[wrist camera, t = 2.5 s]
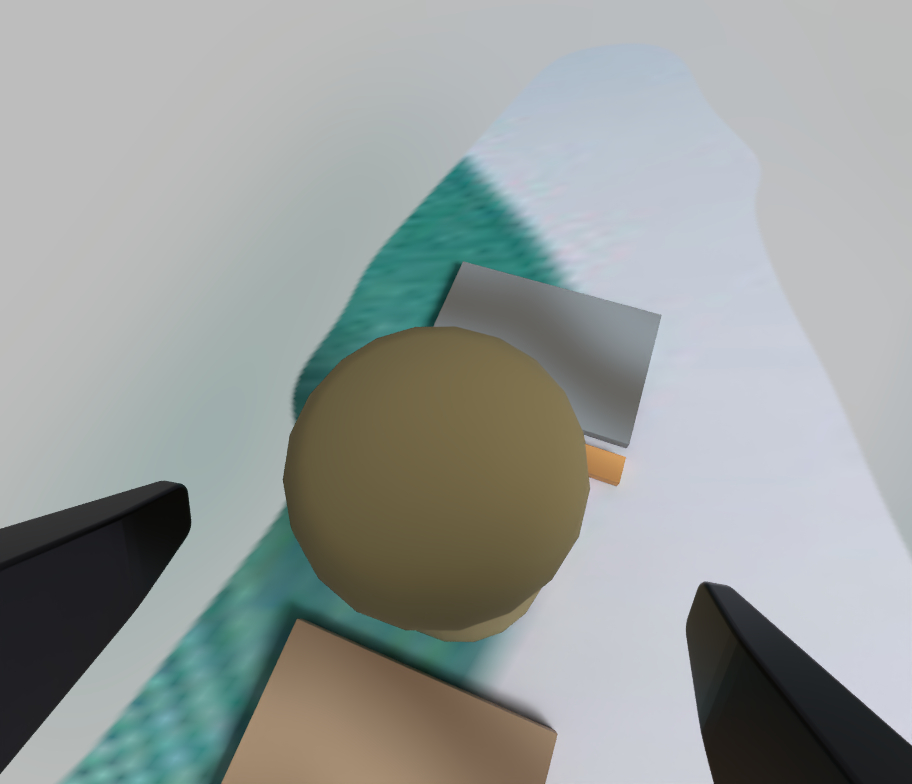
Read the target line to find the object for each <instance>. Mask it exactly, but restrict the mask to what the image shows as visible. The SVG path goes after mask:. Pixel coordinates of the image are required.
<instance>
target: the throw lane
mask: <svg viewBox="0 0 912 784" xmlns="http://www.w3.org/2000/svg"><path fill="white" fill-rule="evenodd" d="M660 319H661V315H659V314H656V313H652V312H648V311H645V310H641V309H637V308H633V307H630V306H626V305H622V304H619V303H615V302H611V301H607V300H604V299H600V298H596V297H593V296H589V295H585V294H582V293H578V292H574V291H570V290H567V289H563V288H559V287H556V286H552V285H548V284H544V283H541V282H537V281H533V280H530V279H526V278H522V277H519V276H515V275H511V274H507V273H504V272H500V271H496V270H493V269H489V268H485V267H481V266H478V265H474V264H470V263H467V262H463V263H462V265H461V267H460V269H459V272H458V274H457V276H456V278H455V280H454V283H453V285H452V287H451V289H450V291H449V293H448V296H447V298H446V300H445V302H444V304H443V307H442V309H441V311H440V313H439V315H438V317H437V320H436V322H435V324H434V326H433V327H450V326H455V327H460V328H463V329H467V330H471V331H475V332H479V333H483V334H486V335H490V336H494V337H498V338H500V339H502V340H504V341H506V342H507V343H509V344H511V345H512V346H514V347H516V348H517V349H519V350H521V351H522V352H524V353H526V354H527V355H529V356H531V357H532V358H534V359H536V360H537V361H538V363H539V364H540V365H541V366H542V367H543V368H544V369H545V370H546V371H547V372H548V374H549V375H550V376H551V377H552V378H553V379H554V380H555V381H556V382H557V384H558V385H559V386H560V387H561V388H562V389H563V390H564V391H565V393H566V395H567V397H568V400H569V402H570V404H571V406H572V408H573V411H574V413H575V415H576V417H577V420H578V422H579V424H580V426H581V428H582V431H583V433H584V435H587V436H590V437H593V438H596V439H600V440H603V441H606V442H609V443H612V444H615V445H618V446H621V447H624V448H627V446H628V445H629V443H630V439H631V435H632V431H633V427H634V423H635V419H636V415H637V411H638V407H639V403H640V399H641V395H642V391H643V387H644V383H645V379H646V375H647V371H648V367H649V363H650V359H651V355H652V351H653V347H654V343H655V339H656V335H657V331H658V327H659V323H660ZM585 446H586V455H587V465H588V475H589V477H591V478H594V479H597V480H600V481H603V482H606V483H609V484H612V485H615V486H617V485H618V484H619V482H620V479H621V475H622V471H623V467H624V463H625V459H626V457H624V456H621V455H618V454H614V453H611V452H608V451H605V450H602V449H599V448H596V447H593V446H590V445H587V444H585ZM556 738H557V733H556V731H555V730H553V729H551V728H549V727H546V726H544V725H542V724H539V723H537V722H535V721H533V720H530V719H528V718H526V717H524V716H521V715H519V714H517V713H515V712H512V711H510V710H508V709H506V708H503V707H501V706H499V705H497V704H494V703H492V702H490V701H488V700H485V699H483V698H481V697H478V696H476V695H474V694H472V693H469V692H467V691H465V690H463V689H460V688H458V687H456V686H454V685H451V684H449V683H447V682H445V681H442V680H440V679H438V678H436V677H433V676H431V675H429V674H427V673H424V672H422V671H420V670H417V669H415V668H413V667H411V666H408V665H406V664H404V663H402V662H399V661H397V660H395V659H393V658H390V657H388V656H386V655H384V654H381V653H379V652H377V651H375V650H372V649H370V648H368V647H366V646H363V645H361V644H359V643H356V642H354V641H352V640H350V639H347V638H345V637H343V636H341V635H338V634H336V633H334V632H332V631H329V630H327V629H325V628H323V627H320V626H318V625H316V624H314V623H311V622H309V621H307V620H305V619H297V620H296V622H295V624H294V627H293V629H292V631H291V633H290V635H289V638H288V640H287V642H286V644H285V646H284V648H283V651H282V653H281V655H280V657H279V659H278V661H277V664H276V666H275V668H274V670H273V672H272V674H271V677H270V679H269V681H268V683H267V685H266V687H265V690H264V692H263V694H262V696H261V698H260V701H259V703H258V705H257V707H256V709H255V711H254V714H253V716H252V718H251V720H250V722H249V724H248V727H247V729H246V731H245V733H244V735H243V737H242V740H241V742H240V744H239V746H238V748H237V750H236V753H235V755H234V757H233V759H232V761H231V764H230V766H229V768H228V770H227V772H226V774H225V777H224V779H223V781H222V783H221V784H545V782H546V778H547V774H548V770H549V766H550V762H551V758H552V754H553V750H554V746H555V742H556Z"/></svg>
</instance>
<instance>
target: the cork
mask: <svg viewBox="0 0 912 784" xmlns="http://www.w3.org/2000/svg"><path fill="white" fill-rule="evenodd" d="M283 483H284V489H285V495H286V501H287V507H288V513H289V519H290V525H291V528H292V531H293V533H294V535H295V537H296V539H297V541H298V543H299V544H300V546H301V548H302V550H303V552H304V553H305V555H306V557H307V559H308V561H309V562H310V564H311V566H312V568H313V570H314V571H315V573H316V575H317V577H318V579H320V580H321V581H322V582H323V583H324V584H325V585H327V586H328V587H329V588H330V589H331V590H332V591H333V592H335V593H336V594H337V595H338V596H339V597H340V598H341V599H343V600H344V601H345V602H346V603H347V604H348V605H350V606H351V607H352V608H353V609H354V610H355V611H356V612H359V613H362V614H364V615H367V616H370V617H372V618H375V619H377V620H380V621H383V622H385V623H388V624H391V625H393V626H396V627H399V628H401V629H404V630H416V631H418V632H421V633H424V634H426V635H429V636H432V637H434V638H437V639H440V640H442V641H450V642H475V641H478V640H481V639H484V638H487V637H489V636H492V635H495V634H498V633H501V632H503V631H504V630H505V629H507V628H508V627H509V626H510V625H512V624H513V623H514V622H515V621H517V620H518V619H519V618H520V617H522V616H523V615H524V614H525V613H526V612H527V610H528V609H529V607H530V605H531V604H532V602H533V601H534V599H535V598H536V596H537V594H538V593H539V591H540V590H541V588H542V587H543V586H545V585H546V584H547V583H548V582H550V581H551V580H552V579H553V577H554V575H555V574H556V572H557V571H558V569H559V567H560V566H561V564H562V563H563V561H564V559H565V558H566V556H567V555H568V553H569V551H570V550H571V548H572V547H573V545H574V543H575V542H576V540H577V539H578V537H579V534H580V529H581V525H582V521H583V516H584V512H585V508H586V503H587V499H588V495H589V490H590V485H589V475H588V465H587V455H586V446H585V439H584V433H583V431H582V428H581V426H580V424H579V422H578V420H577V417H576V415H575V413H574V411H573V408H572V406H571V404H570V402H569V400H568V397H567V395H566V393H565V391H564V390H563V389H562V388H561V387H560V386H559V385H558V384H557V382H556V381H555V380H554V379H553V378H552V377H551V376H550V375H549V374H548V372H547V371H546V370H545V369H544V368H543V367H542V366H541V365H540V364H539V363H538V361H537V360H536V359H534V358H532V357H531V356H529V355H527V354H526V353H524V352H522V351H521V350H519V349H517V348H516V347H514V346H512V345H511V344H509V343H507V342H506V341H504V340H502V339H500V338H498V337H494V336H490V335H486V334H483V333H479V332H475V331H471V330H467V329H463V328H460V327H455V326H450V327H414V328H410V329H407V330H404V331H400V332H397V333H393V334H390V335H387V336H383V337H380V338H377V339H375V340H373V341H372V342H370V343H368V344H367V345H365V346H364V347H362V348H360V349H359V350H357V351H355V352H354V353H352V354H351V355H349V356H347V357H346V358H344V359H342V360H341V361H340V362H339V363H338V364H337V366H336V367H335V368H334V369H333V370H332V371H331V372H330V373H329V374H328V375H327V376H326V377H325V379H324V380H323V381H322V382H321V383H320V384H319V385H318V386H317V387H316V388H315V389H314V391H313V392H312V393H311V394H310V395H309V397H308V399H307V401H306V403H305V405H304V407H303V409H302V411H301V413H300V415H299V417H298V419H297V421H296V423H295V425H294V427H293V429H292V431H291V434H290V437H289V444H288V450H287V457H286V464H285V469H284V476H283Z"/></svg>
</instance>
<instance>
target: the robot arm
mask: <svg viewBox="0 0 912 784" xmlns="http://www.w3.org/2000/svg"><path fill="white" fill-rule="evenodd" d="M190 528H191V514H190V506H189V497H188V491H187V488H186V487H185V486H184V485H183V484H180V483H174V482H169V481H159V482H155V483H152V484H149V485H146V486H142V487H139V488H135V489H132V490H129V491H126V492H122V493H119V494H115V495H112V496H109V497H105V498H102V499H99V500H95V501H92V502H89V503H85V504H82V505H78V506H75V507H72V508H68V509H65V510H62V511H58V512H55V513H52V514H48V515H45V516H42V517H38V518H35V519H32V520H28V521H25V522H22V523H18V524H15V525H11V526H9V527H5V528H1V529H0V774H1V772H2V771H3V770H4V769H5V768H6V767H7V765H8V764H9V763H10V762H11V760H12V759H13V758H14V757H15V756H16V755H17V753H18V752H19V751H20V750H21V748H22V747H23V746H24V745H25V744H26V742H27V741H28V740H29V739H30V738H31V736H32V735H33V734H34V733H35V732H36V730H37V729H38V728H39V727H40V726H41V724H42V723H43V722H44V721H45V719H46V718H47V717H48V716H49V715H50V714H51V712H52V711H53V710H54V709H55V707H56V706H57V705H58V704H59V703H60V701H61V700H62V699H63V698H64V697H65V695H66V694H67V693H68V692H69V691H70V689H71V688H72V687H73V686H74V685H75V683H76V682H77V681H78V679H80V677H81V676H82V675H83V674H84V673H85V671H86V670H87V669H88V668H89V666H90V665H91V664H92V663H93V662H94V660H95V659H96V658H97V657H98V656H99V654H100V653H101V652H102V651H103V650H104V648H105V647H106V646H107V645H108V644H109V642H110V641H111V640H112V639H113V637H114V636H115V635H116V634H117V633H118V631H119V630H120V629H121V628H122V627H123V625H124V624H125V623H126V622H127V621H128V619H129V618H130V617H131V616H132V614H133V613H134V612H135V610H136V609H137V608H138V607H139V605H140V604H141V602H142V601H143V600H144V598H145V597H146V596H147V594H148V593H149V591H150V590H151V588H152V587H153V585H154V584H155V582H156V581H157V579H158V578H159V577H160V575H161V574H162V572H163V570H164V569H165V568H166V566H167V565H168V563H169V562H170V561H171V559H172V557H173V556H174V555H175V553H176V551H177V550H178V549H179V547H180V546H181V544H182V543H183V542H184V540H185V539H186V537H187V535H188V533H189V531H190ZM686 638H687V644H688V651H689V658H690V664H691V671H692V678H693V684H694V691H695V698H696V704H697V711H698V717H699V723H700V729H701V734H702V739H703V743H704V747H705V751H706V755H707V759H708V763H709V767H710V771H711V774H712V778H713V782H714V784H912V745H910V744H909V743H908V742H907V741H906V740H905V739H904V738H902V737H901V736H900V735H899V734H898V733H897V732H896V731H895V730H893V729H892V728H891V727H890V726H889V725H888V724H887V723H885V722H884V721H883V720H882V719H881V718H880V717H879V716H877V715H876V714H875V713H874V712H873V711H872V710H871V709H869V708H868V707H867V706H866V705H865V704H864V703H863V702H861V701H860V700H859V699H858V698H857V697H856V696H855V695H853V694H852V693H851V692H850V691H849V690H848V689H847V688H846V687H844V686H843V685H842V684H841V683H840V682H839V681H838V680H836V679H835V678H834V677H833V676H832V675H831V674H830V673H828V672H827V671H826V670H825V669H824V668H823V667H822V666H820V665H819V664H818V663H817V662H816V661H815V660H814V659H812V658H811V657H810V656H809V655H808V654H807V653H806V652H805V651H803V650H802V649H801V648H800V647H799V646H798V645H797V644H795V643H794V642H793V641H792V640H791V639H790V638H789V637H787V636H786V635H785V634H784V633H783V632H782V631H781V630H779V629H778V628H777V627H776V626H775V625H774V624H773V623H771V622H770V621H769V620H768V619H767V618H766V617H765V616H763V615H762V614H761V613H760V612H759V611H758V610H757V609H756V608H754V607H753V606H752V605H751V604H750V603H749V602H748V601H746V600H745V599H744V598H743V597H742V596H741V595H740V594H738V593H737V592H736V591H735V590H734V589H733V588H731V587H730V586H727V585H723V584H717V583H712V582H703V583H701V584H700V585H699V587H698V589H697V592H696V595H695V598H694V601H693V604H692V607H691V609H690V612H689V615H688V618H687V623H686Z"/></svg>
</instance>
